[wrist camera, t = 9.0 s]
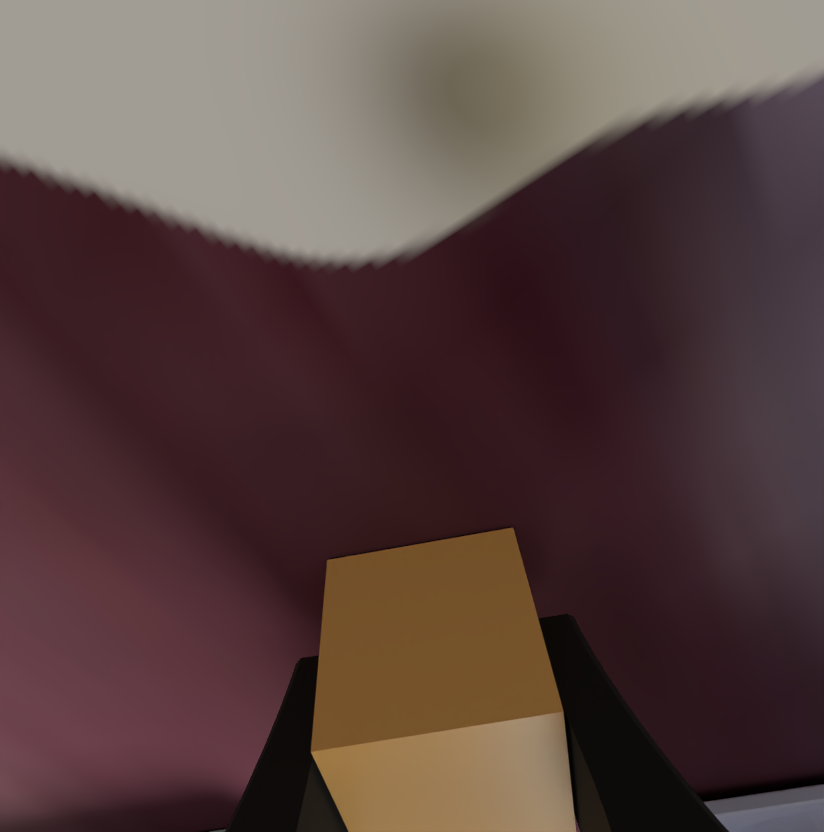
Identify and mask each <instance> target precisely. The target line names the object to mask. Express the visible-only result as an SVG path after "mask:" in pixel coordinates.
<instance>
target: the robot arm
mask: <svg viewBox="0 0 824 832" xmlns="http://www.w3.org/2000/svg"><path fill="white" fill-rule="evenodd" d="M538 620H539V624H540V627H541V631H542V634H543V638H544V642H545V645H546V649H547V653H548V656H549V660H550V664H551V667H552V671H553V675H554V678H555V682H556V686H557V689H558V693H559V697H560V700H561V704H562V708H563V711H564V720H565V730H566V739H567V749H568V759H569V768H570V778H571V787H572V797H573V807H574V813H575V817H576V820H577V823H578V826H579V829H580V832H824V784H820V785H813V786H806V787H800V788H793V789H786V790H780V791H773V792H766V793H760V794H753V795H746V796H740V797H733V798H726V799H720V800H713V801H706V802H703V801H702V800H701V799H700V798H699V796H698V795H697V794H696V793H695V792H694V790H693V789H692V788H691V787H690V786H689V784H688V783H687V782H686V781H685V779H684V778H683V777H682V776H681V774H680V773H679V772H678V771H677V770H676V768H675V767H674V766H673V765H672V763H671V762H670V761H669V760H668V758H667V757H666V756H665V754H664V753H663V752H662V751H661V749H660V748H659V747H658V745H657V744H656V743H655V742H654V740H653V739H652V738H651V736H650V735H649V733H648V732H647V731H646V729H645V728H644V727H643V725H642V724H641V723H640V721H639V720H638V718H637V717H636V716H635V714H634V713H633V712H632V710H631V709H630V707H629V706H628V705H627V703H626V702H625V701H624V699H623V698H622V696H621V695H620V693H619V692H618V690H617V689H616V687H615V686H614V684H613V683H612V681H611V680H610V678H609V677H608V675H607V674H606V672H605V671H604V669H603V668H602V666H601V664H600V663H599V661H598V660H597V658H596V656H595V655H594V653H593V651H592V650H591V648H590V646H589V645H588V643H587V641H586V639H585V637H584V636H583V634H582V632H581V630H580V628H579V626H578V624H577V622H576V620H575V618H574V617H572V616H571V615H569V614H563V615H557V616H551V617H545V618H539V619H538ZM318 662H319V655H318V656H312V657H306V658H301V659H300V660H299V661H298V662H297V664H296V666H295V669H294V672H293V675H292V678H291V680H290V683H289V686H288V689H287V691H286V694H285V697H284V699H283V702H282V704H281V707H280V710H279V712H278V715H277V717H276V720H275V722H274V725H273V727H272V729H271V732H270V734H269V737H268V739H267V742H266V744H265V746H264V749H263V751H262V753H261V755H260V758H259V760H258V762H257V764H256V767H255V769H254V771H253V774H252V776H251V778H250V780H249V783H248V785H247V787H246V789H245V791H244V794H243V796H242V798H241V800H240V802H239V804H238V806H237V808H236V810H235V812H234V814H233V816H232V818H231V820H230V822H229V824H228V826H227V828H226V830H225V832H349V831H348V829H347V827H346V825H345V823H344V821H343V819H342V817H341V814H340V812H339V810H338V808H337V806H336V804H335V802H334V800H333V798H332V796H331V793H330V791H329V789H328V787H327V785H326V783H325V781H324V779H323V777H322V774H321V772H320V770H319V768H318V766H317V764H316V762H315V760H314V758H313V755H312V753H311V744H312V732H313V720H314V709H315V697H316V685H317V674H318Z"/></svg>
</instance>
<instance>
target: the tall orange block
mask: <svg viewBox="0 0 824 832" xmlns="http://www.w3.org/2000/svg"><path fill="white" fill-rule="evenodd" d="M311 753H312V755H313V758H314V760H315V762H316V764H317V766H318V768H319V770H320V772H321V774H322V777H323V779H324V781H325V783H326V785H327V787H328V789H329V791H330V793H331V796H332V798H333V800H334V802H335V804H336V806H337V808H338V810H339V812H340V814H341V817H342V819H343V821H344V823H345V825H346V827H347V829H348V831H349V832H576V826H575V816H574V807H573V797H572V787H571V778H570V768H569V759H568V749H567V739H566V730H565V720H564V711H563V708H562V704H561V700H560V697H559V693H558V689H557V686H556V682H555V678H554V675H553V671H552V667H551V664H550V660H549V656H548V653H547V649H546V645H545V642H544V638H543V634H542V631H541V627H540V624H539V620H538V616H537V613H536V609H535V605H534V602H533V598H532V594H531V591H530V587H529V583H528V580H527V576H526V572H525V569H524V565H523V561H522V558H521V554H520V550H519V547H518V543H517V539H516V536H515V532H514V528H507V529H501V530H496V531H490V532H484V533H479V534H473V535H467V536H461V537H456V538H450V539H444V540H439V541H433V542H427V543H422V544H416V545H410V546H404V547H399V548H393V549H387V550H382V551H376V552H370V553H364V554H359V555H353V556H347V557H342V558H336V559H330V560H327V569H326V580H325V592H324V604H323V615H322V627H321V639H320V650H319V662H318V674H317V685H316V697H315V709H314V720H313V732H312V744H311Z"/></svg>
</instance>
